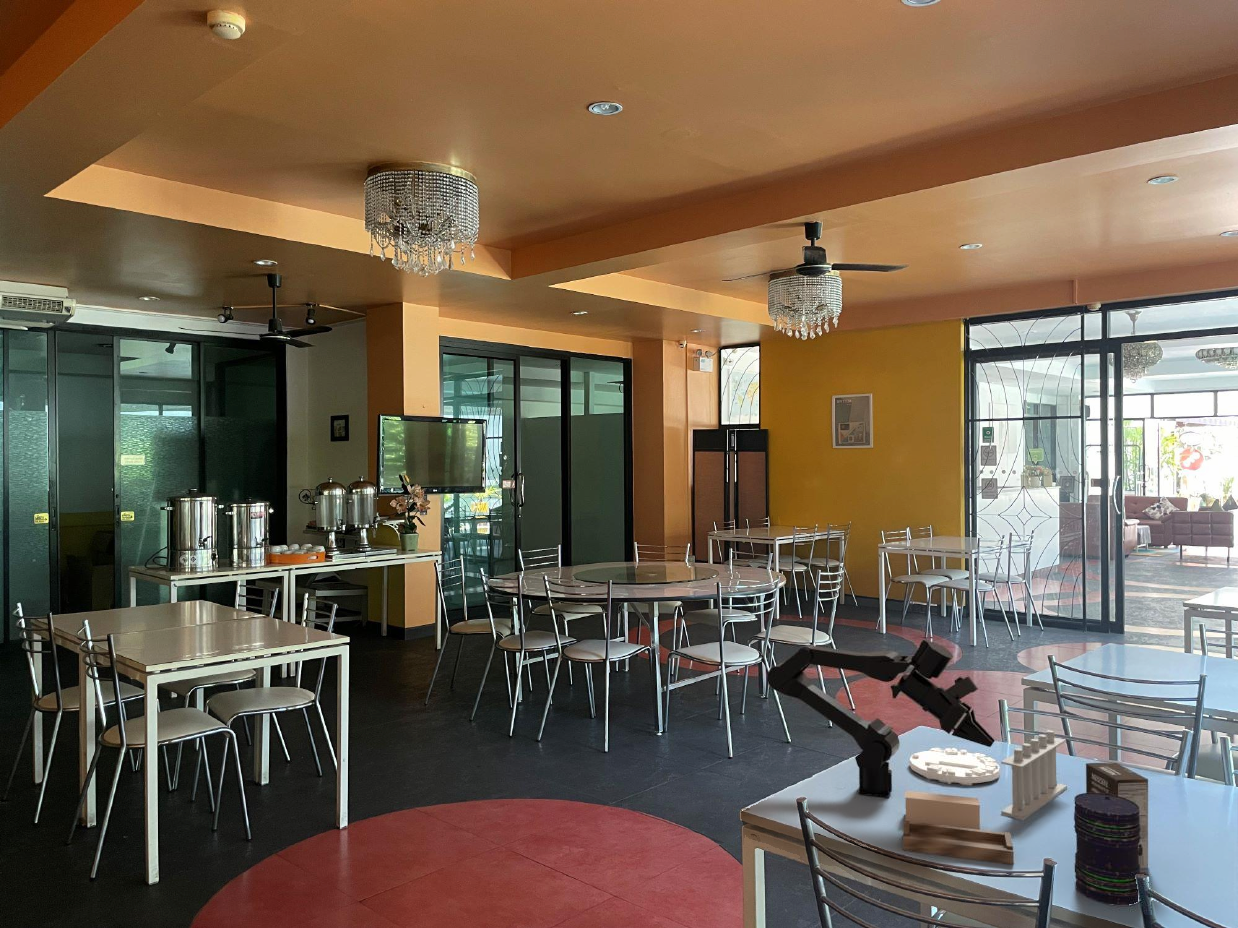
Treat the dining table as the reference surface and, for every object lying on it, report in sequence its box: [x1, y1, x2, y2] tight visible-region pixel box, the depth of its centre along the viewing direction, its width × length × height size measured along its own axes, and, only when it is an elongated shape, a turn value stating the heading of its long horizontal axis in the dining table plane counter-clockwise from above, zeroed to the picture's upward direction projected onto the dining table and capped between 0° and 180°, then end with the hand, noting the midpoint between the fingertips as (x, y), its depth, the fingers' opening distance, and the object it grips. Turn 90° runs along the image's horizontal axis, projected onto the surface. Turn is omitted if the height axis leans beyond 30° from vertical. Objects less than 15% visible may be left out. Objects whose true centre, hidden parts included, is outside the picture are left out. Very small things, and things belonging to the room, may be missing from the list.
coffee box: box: [1085, 762, 1149, 869], centre depth 162 cm, size 9×6×16 cm
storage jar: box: [1073, 792, 1141, 906], centre depth 149 cm, size 10×10×15 cm
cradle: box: [902, 819, 1015, 865], centre depth 167 cm, size 19×8×3 cm, turn 71°
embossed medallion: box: [909, 747, 1001, 786], centre depth 210 cm, size 20×20×3 cm
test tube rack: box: [1000, 729, 1068, 821], centre depth 190 cm, size 25×4×13 cm, turn 134°
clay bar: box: [905, 790, 981, 830], centre depth 180 cm, size 14×4×5 cm, turn 72°
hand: (992, 743), depth 183 cm, fingers open, 9 cm apart
